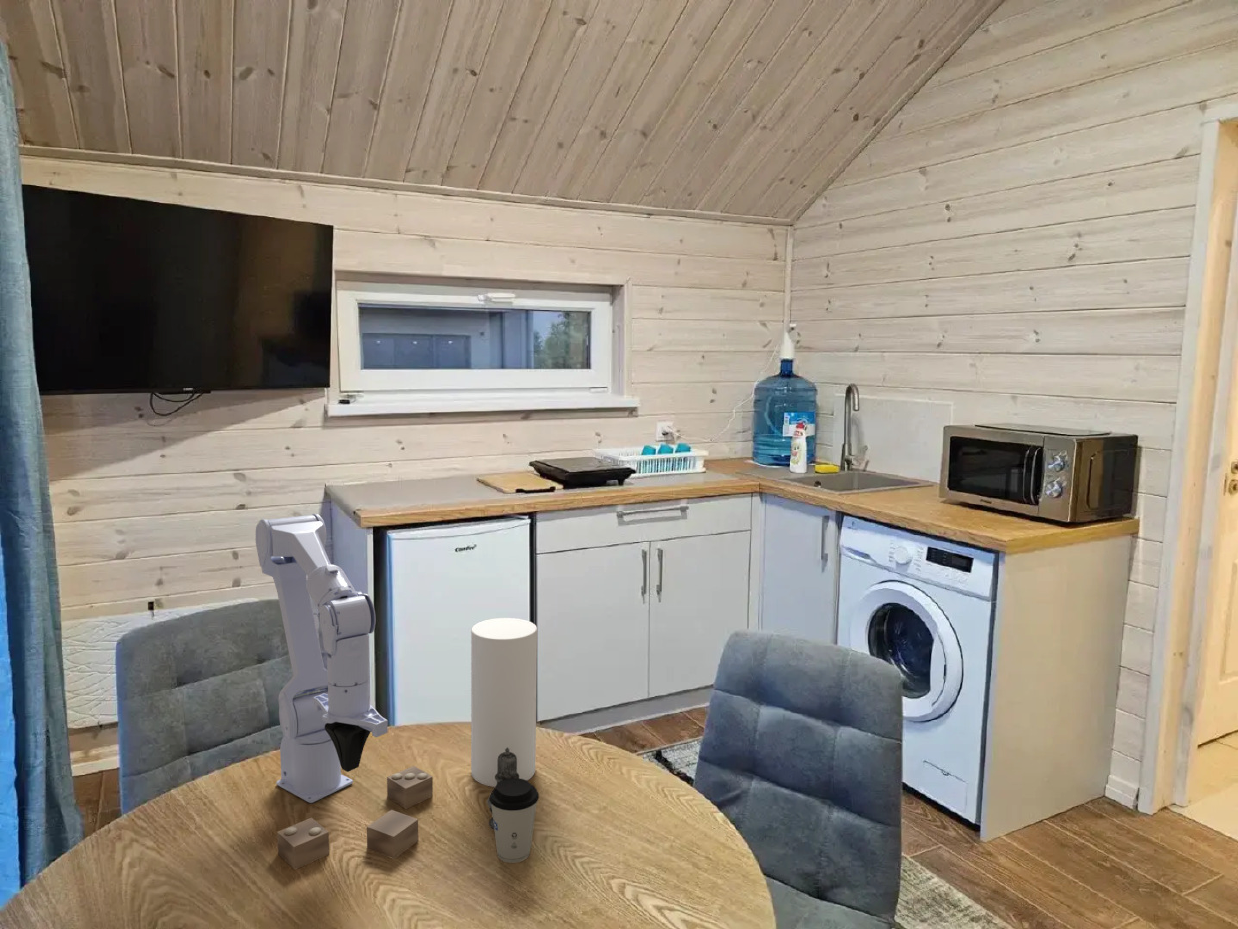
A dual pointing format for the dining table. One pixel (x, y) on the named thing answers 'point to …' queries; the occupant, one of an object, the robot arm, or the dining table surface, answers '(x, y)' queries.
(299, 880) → the dining table surface
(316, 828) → the two-dot block
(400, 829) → the plain block
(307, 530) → the robot arm
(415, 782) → the three-dot block
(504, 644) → the tall pillar cylinder
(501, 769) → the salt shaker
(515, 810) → the coffee cup
